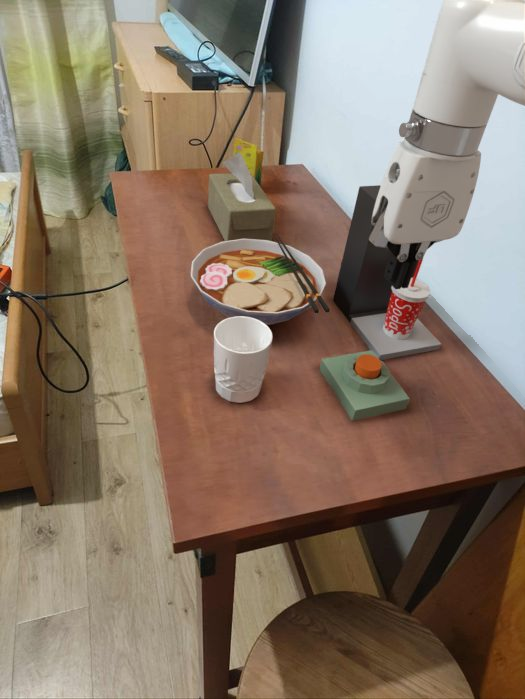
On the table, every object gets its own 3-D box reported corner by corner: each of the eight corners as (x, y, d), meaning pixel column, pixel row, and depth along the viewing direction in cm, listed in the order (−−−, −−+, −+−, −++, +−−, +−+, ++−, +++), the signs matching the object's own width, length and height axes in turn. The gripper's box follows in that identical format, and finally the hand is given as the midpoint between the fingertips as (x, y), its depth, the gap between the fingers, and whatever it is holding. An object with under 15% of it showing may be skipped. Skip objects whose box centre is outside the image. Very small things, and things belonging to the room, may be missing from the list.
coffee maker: (439, 349, 86) (490, 232, 72) (378, 360, 82) (419, 239, 68) (387, 293, 98) (422, 182, 84) (332, 300, 94) (359, 186, 80)
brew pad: (405, 409, 75) (413, 389, 72) (351, 421, 72) (358, 401, 69) (369, 360, 82) (375, 341, 80) (319, 369, 79) (323, 349, 77)
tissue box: (207, 207, 118) (209, 137, 108) (247, 205, 121) (253, 137, 111) (227, 247, 105) (232, 172, 95) (272, 245, 108) (281, 171, 97)
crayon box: (260, 190, 128) (265, 143, 120) (253, 194, 126) (257, 146, 119) (238, 181, 131) (241, 134, 124) (230, 184, 129) (233, 137, 122)
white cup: (275, 394, 74) (284, 341, 68) (229, 414, 70) (233, 360, 64) (245, 362, 79) (251, 310, 72) (201, 379, 75) (203, 325, 69)
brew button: (383, 377, 74) (386, 368, 73) (361, 381, 73) (364, 372, 72) (371, 361, 77) (374, 352, 75) (350, 365, 75) (352, 356, 74)
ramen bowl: (180, 272, 96) (180, 233, 91) (294, 266, 102) (301, 229, 97) (202, 360, 78) (203, 318, 73) (339, 347, 84) (350, 307, 79)
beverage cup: (370, 326, 87) (392, 255, 78) (394, 316, 90) (418, 246, 81) (397, 346, 84) (423, 274, 75) (421, 335, 87) (449, 264, 78)
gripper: (401, 149, 48) (358, 307, 60) (523, 146, 53) (460, 292, 65) (363, 123, 53) (330, 273, 65) (477, 122, 58) (427, 262, 70)
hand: (395, 282), depth 65 cm, fingers closed
